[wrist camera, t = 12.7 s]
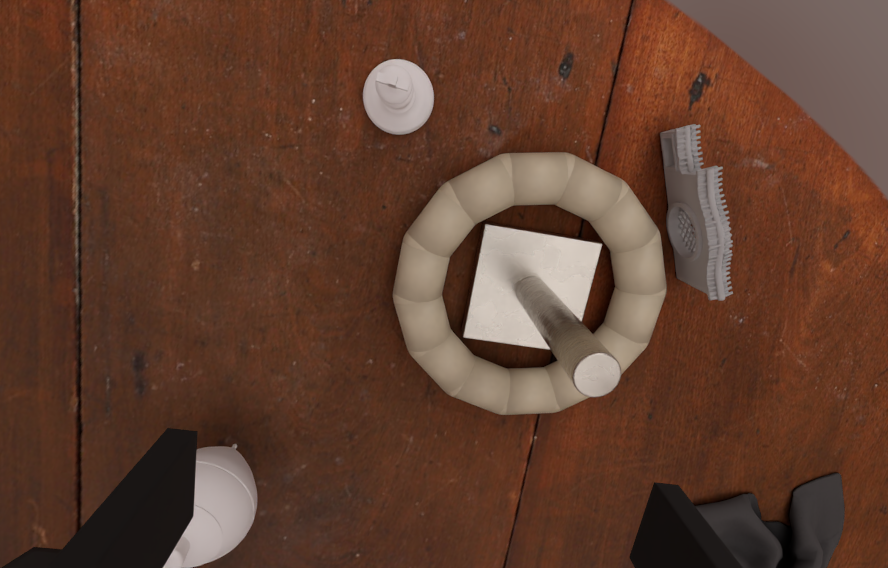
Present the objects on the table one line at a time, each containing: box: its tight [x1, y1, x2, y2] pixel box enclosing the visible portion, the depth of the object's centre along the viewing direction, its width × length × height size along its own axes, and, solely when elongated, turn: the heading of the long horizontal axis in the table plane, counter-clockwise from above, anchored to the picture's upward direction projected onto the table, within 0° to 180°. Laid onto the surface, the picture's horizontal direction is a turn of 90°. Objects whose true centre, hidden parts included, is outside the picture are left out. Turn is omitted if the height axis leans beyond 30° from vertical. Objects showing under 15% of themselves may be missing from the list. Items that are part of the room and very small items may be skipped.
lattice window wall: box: [660, 124, 733, 300], centre depth 35 cm, size 12×2×6 cm, turn 14°
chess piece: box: [363, 59, 434, 135], centre depth 29 cm, size 5×5×10 cm
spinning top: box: [163, 444, 257, 568], centre depth 35 cm, size 8×8×12 cm
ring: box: [393, 152, 666, 415], centre depth 37 cm, size 20×21×4 cm
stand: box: [461, 221, 621, 397], centre depth 31 cm, size 9×9×16 cm
